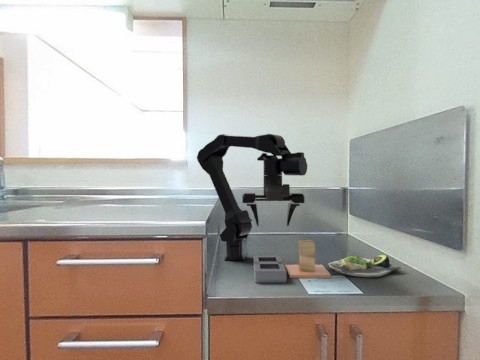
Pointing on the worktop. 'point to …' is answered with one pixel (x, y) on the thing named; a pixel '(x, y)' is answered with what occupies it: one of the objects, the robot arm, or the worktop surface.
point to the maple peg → (306, 255)
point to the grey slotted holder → (269, 269)
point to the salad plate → (364, 266)
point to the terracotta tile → (307, 272)
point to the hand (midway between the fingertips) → (272, 225)
